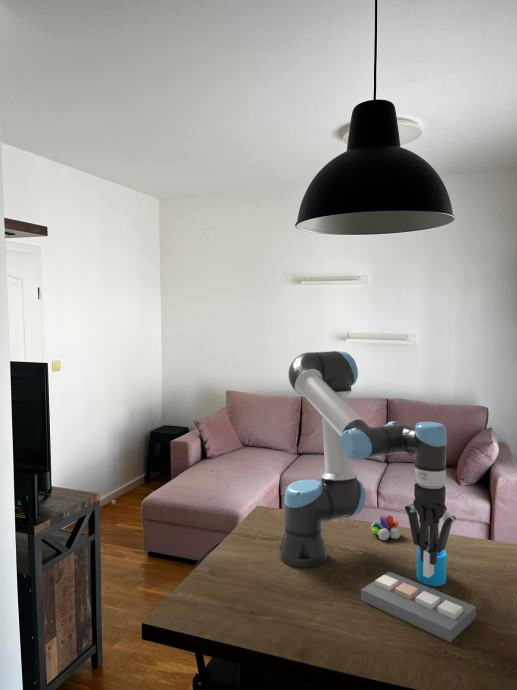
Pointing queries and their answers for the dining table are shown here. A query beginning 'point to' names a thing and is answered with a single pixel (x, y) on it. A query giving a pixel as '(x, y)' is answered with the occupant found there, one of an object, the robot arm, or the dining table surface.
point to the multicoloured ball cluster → (386, 528)
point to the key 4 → (450, 610)
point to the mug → (439, 569)
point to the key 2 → (406, 591)
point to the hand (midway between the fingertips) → (428, 574)
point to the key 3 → (427, 600)
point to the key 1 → (386, 583)
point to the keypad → (419, 608)
